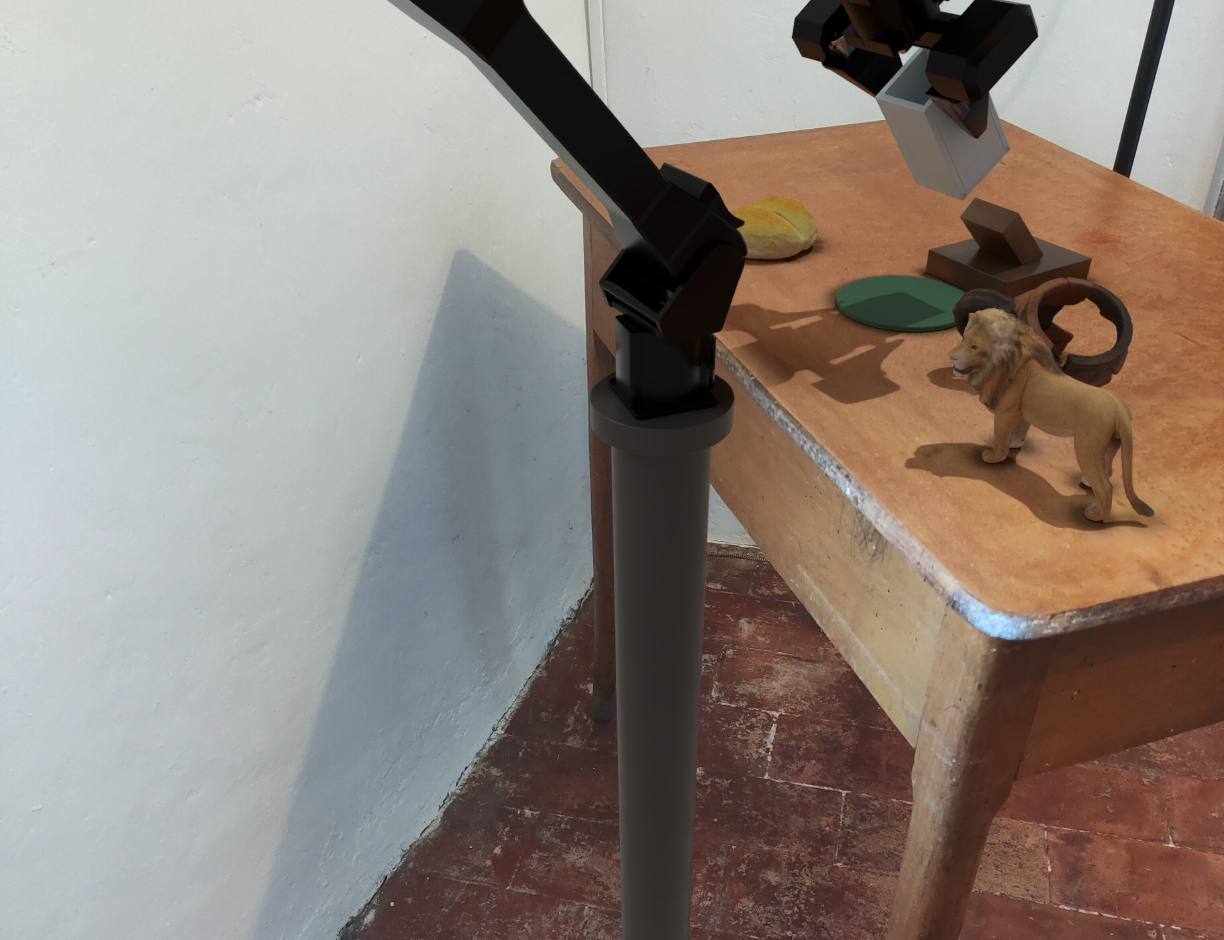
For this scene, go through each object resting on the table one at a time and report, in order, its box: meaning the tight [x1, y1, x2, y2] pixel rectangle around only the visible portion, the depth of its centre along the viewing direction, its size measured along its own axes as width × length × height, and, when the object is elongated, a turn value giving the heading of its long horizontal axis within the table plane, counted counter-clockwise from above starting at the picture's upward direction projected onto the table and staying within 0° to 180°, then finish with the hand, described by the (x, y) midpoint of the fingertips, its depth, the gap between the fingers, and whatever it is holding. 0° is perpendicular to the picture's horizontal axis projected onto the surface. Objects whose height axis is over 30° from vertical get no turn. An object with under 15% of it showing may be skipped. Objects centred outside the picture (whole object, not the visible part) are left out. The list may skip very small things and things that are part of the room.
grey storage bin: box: [874, 47, 1011, 201], centre depth 80 cm, size 10×7×10 cm
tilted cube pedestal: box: [924, 196, 1093, 298], centre depth 90 cm, size 10×9×7 cm
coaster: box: [835, 274, 966, 333], centre depth 88 cm, size 11×11×1 cm
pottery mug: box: [952, 278, 1134, 388], centre depth 75 cm, size 12×10×8 cm
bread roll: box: [729, 195, 819, 260], centre depth 98 cm, size 8×9×4 cm
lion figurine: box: [948, 308, 1155, 522], centre depth 64 cm, size 15×5×9 cm, turn 39°
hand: (943, 122), depth 79 cm, fingers closed on grey storage bin, 7 cm apart
